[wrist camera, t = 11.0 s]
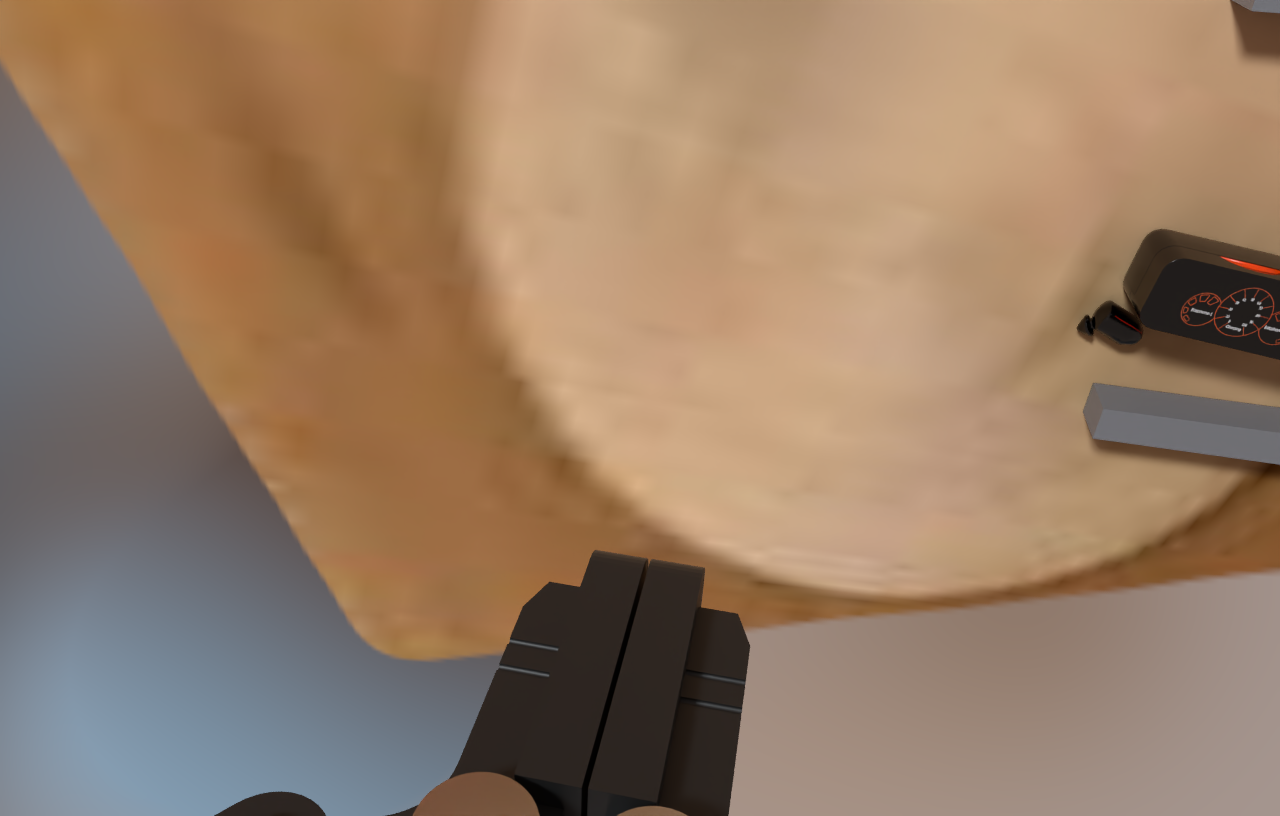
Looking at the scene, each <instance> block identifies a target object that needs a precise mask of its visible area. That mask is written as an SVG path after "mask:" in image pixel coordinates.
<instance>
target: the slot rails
mask: <svg viewBox="0 0 1280 816" xmlns="http://www.w3.org/2000/svg"><path fill="white" fill-rule="evenodd" d="M1232 1H1234V2H1236V3H1238V4H1240V5H1241V6H1243V7H1245V8H1247V9H1249V10H1250V11H1258V12H1271V13H1280V0H1232ZM1083 413H1084V416H1085V419H1086V422H1087V424H1088V427H1089V430H1090V433H1091V435H1092V438H1093V439H1100V440H1107V441H1114V442H1122V443H1129V444H1136V445H1143V446H1150V447H1157V448H1165V449H1172V450H1179V451H1186V452H1193V453H1200V454H1207V455H1215V456H1222V457H1229V458H1236V459H1243V460H1250V461H1258V462H1265V463H1272V464H1279V465H1280V408H1279V407H1271V406H1264V405H1256V404H1248V403H1241V402H1233V401H1226V400H1218V399H1211V398H1203V397H1196V396H1188V395H1180V394H1173V393H1165V392H1158V391H1150V390H1143V389H1135V388H1128V387H1120V386H1112V385H1105V384H1097V383H1093V385H1092V388H1091V390H1090V393H1089V396H1088V399H1087V402H1086V404H1085V407H1084V410H1083Z"/></svg>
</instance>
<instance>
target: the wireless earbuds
mask: <svg viewBox="0 0 1280 816" xmlns="http://www.w3.org/2000/svg"><path fill="white" fill-rule="evenodd" d="M1123 286H1124V290H1125V292H1126V294H1127V296H1128V297H1129V299H1130V301H1131V303H1132V305H1133V307H1134V309H1135V311H1136V312H1137V314H1138V316H1139V318H1140V320H1141V322H1142V323H1143V324H1144V325H1145V326H1146V327H1148V328H1151V329H1154V330H1159V331H1163V332H1167V333H1171V334H1175V335H1179V336H1183V337H1188V338H1192V339H1196V340H1200V341H1204V342H1208V343H1212V344H1216V345H1221V346H1225V347H1229V348H1233V349H1237V350H1241V351H1245V352H1250V353H1254V354H1258V355H1262V356H1266V357H1270V358H1274V359H1279V360H1280V256H1278V255H1274V254H1270V253H1265V252H1261V251H1257V250H1253V249H1248V248H1244V247H1240V246H1235V245H1231V244H1227V243H1223V242H1218V241H1214V240H1210V239H1206V238H1201V237H1197V236H1193V235H1189V234H1184V233H1180V232H1176V231H1172V230H1167V229H1159V230H1154V231H1152V232H1151V233H1149V234H1148V235H1147V236H1146V237H1145V238H1144V240H1143V242H1142V243H1141V245H1140V247H1139V249H1138V251H1137V253H1136V255H1135V257H1134V259H1133V261H1132V263H1131V265H1130V267H1129V269H1128V271H1127V273H1126V275H1125V277H1124V281H1123ZM1093 329H1094V330H1095V329H1096V330H1097V331H1099V332H1100V333H1102V334H1104V335H1105V336H1107V337H1108V338H1110V339H1111V340H1113V341H1114V342H1116V343H1118V344H1120V345H1133V344H1135V343H1137V342H1138V341H1139V340H1140V339H1141V338H1142V335H1143V328H1142V326H1141V323H1140V321H1139V320H1138V318H1137V317H1136V316H1135V315H1133V314H1131V313H1130V312H1128V311H1127V310H1125V309H1124V308H1122V307H1120V306H1119V305H1117V304H1116V303H1114V302H1113V301H1106V302H1104V303H1103V304H1101V305H1100V306H1099V307H1098V308H1097V309H1096V311H1095V312H1094V314H1093V316H1092V318H1090V317H1089V315H1086V316H1085V317H1084V318H1083V319H1082V320H1081V322H1080V323H1079V324H1078V326H1077V330H1078V331H1079V332H1081V333H1084V334H1086V335H1089V336H1093Z"/></svg>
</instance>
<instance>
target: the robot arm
mask: <svg viewBox="0 0 1280 816" xmlns="http://www.w3.org/2000/svg"><path fill="white" fill-rule="evenodd" d="M704 575H705V568H703V567H697V566H691V565H685V564H679V563H673V562H667V561H661V560H655V559H652V560H651V561H650V564H649V567H648V559H647V558H641V557H635V556H629V555H623V554H617V553H611V552H605V551H599V550H595V551H594V552H593V553H592V555H591V558H590V561H589V564H588V566H587V569H586V572H585V575H584V578H583V581H582V583H581V586H580V587H577V586H571V585H565V584H559V583H554V582H549V583H548V584H547V585H546V586H544V587H543V588H542V589H541V590H540V591H539V592H538V593H537V594H536V595H535V596H534V597H533V598H532V599H531V600H529V601H528V602H527V603H526V604H525V605H524V606H523V608H522V610H521V613H520V615H519V618H518V620H517V622H516V625H515V627H514V630H513V632H512V634H511V637H510V642H509V644H507V647H506V649H505V651H504V654H503V656H502V659H501V661H500V665H499V669H498V670H497V671H496V673H495V676H494V678H493V680H492V683H491V685H490V688H489V690H488V692H487V695H486V697H485V700H484V702H483V704H482V707H481V709H480V712H479V714H478V717H477V719H476V721H475V724H474V727H473V729H472V731H471V734H470V736H469V739H468V741H467V743H466V746H465V748H464V750H463V753H462V755H461V758H460V760H459V762H458V765H457V766H456V768H455V771H454V772H453V774H452V775H451V777H450V778H449V779H448V780H446V781H445V782H443V783H441V784H440V785H438V786H436V787H435V788H434V789H433V790H432V791H430V792H429V793H428V794H427V795H426V796H425V797H424V799H423V800H422V801H421V802H420V804H419V805H417V806H415V807H413V808H410V809H408V810H406V811H402V812H400V813H396V814H392V815H387V816H728V814H729V807H730V799H731V791H732V782H733V776H734V767H735V760H736V752H737V744H738V737H739V736H738V735H739V729H740V721H741V713H742V704H743V697H744V690H745V681H746V674H747V666H748V659H749V651H750V644H749V642H748V640H747V637H746V634H745V631H744V629H743V626H742V623H741V621H740V618H739V615H738V614H736V613H730V612H725V611H719V610H713V609H707V608H701V602H702V593H703V584H704ZM215 816H326V815H325V813H324V812H323V810H322V809H321V808H320V807H319V806H318V805H317V804H316V803H315V802H313V801H312V800H311V799H308V798H306V797H304V796H302V795H299V794H295V793H291V792H269V793H263V794H259V795H255V796H253V797H249V798H247V799H244V800H242V801H240V802H238V803H236V804H234V805H232V806H231V807H229V808H227V809H225V810H224V811H222V812H220V813H218V814H216V815H215Z"/></svg>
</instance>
